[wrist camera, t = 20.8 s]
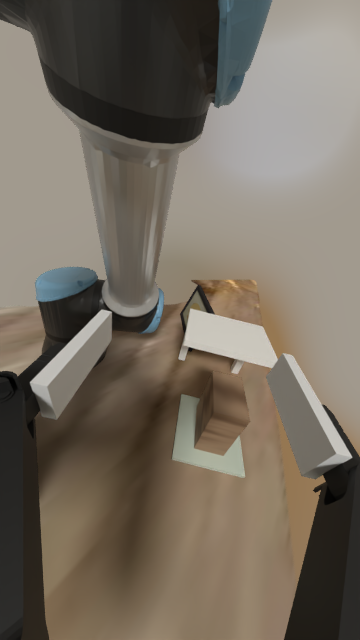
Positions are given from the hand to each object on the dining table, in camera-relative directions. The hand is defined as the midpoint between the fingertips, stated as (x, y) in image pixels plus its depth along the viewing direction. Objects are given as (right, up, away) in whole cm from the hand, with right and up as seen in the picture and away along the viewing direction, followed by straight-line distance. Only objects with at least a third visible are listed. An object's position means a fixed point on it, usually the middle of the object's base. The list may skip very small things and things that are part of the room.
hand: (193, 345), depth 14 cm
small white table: (+7, -15, +39) cm, 42 cm away
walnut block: (+5, -22, +26) cm, 34 cm away
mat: (+5, -23, +27) cm, 35 cm away
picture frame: (+5, -3, +58) cm, 58 cm away
